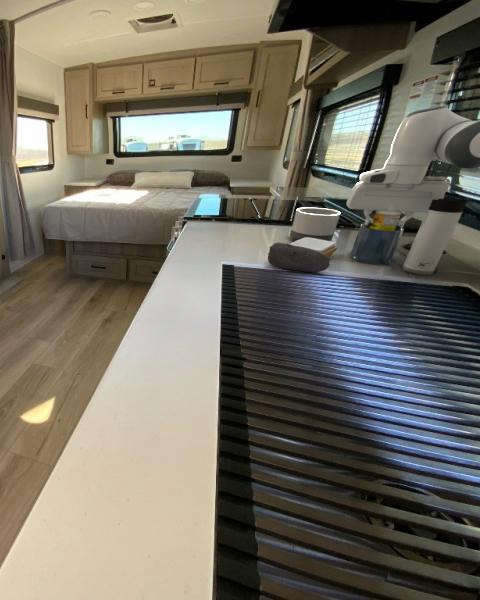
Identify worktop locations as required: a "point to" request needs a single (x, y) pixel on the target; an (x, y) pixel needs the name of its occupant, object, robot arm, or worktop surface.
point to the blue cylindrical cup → (375, 245)
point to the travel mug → (434, 235)
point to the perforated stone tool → (297, 258)
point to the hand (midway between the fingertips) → (382, 226)
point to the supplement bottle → (386, 218)
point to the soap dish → (317, 245)
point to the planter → (314, 223)
